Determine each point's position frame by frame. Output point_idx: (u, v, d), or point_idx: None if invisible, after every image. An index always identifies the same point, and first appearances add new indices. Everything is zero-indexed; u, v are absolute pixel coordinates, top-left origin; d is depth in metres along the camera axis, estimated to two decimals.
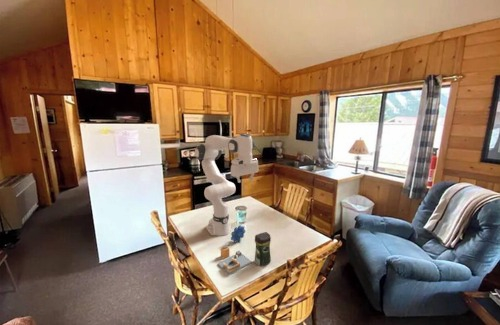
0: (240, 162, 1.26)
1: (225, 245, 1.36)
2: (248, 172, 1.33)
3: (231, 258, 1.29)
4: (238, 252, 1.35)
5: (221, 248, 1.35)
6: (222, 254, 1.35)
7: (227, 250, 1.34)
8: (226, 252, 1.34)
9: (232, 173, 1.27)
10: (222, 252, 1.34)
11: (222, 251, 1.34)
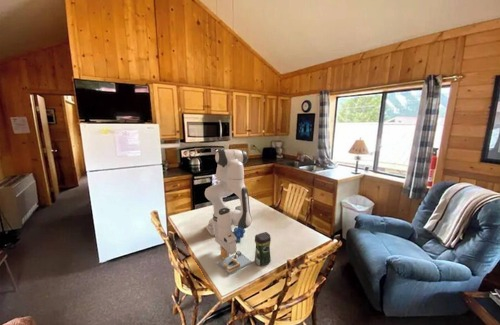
0: None
1: None
2: None
3: (231, 258, 1.29)
4: (238, 252, 1.35)
5: (221, 248, 1.35)
6: (222, 254, 1.35)
7: None
8: (226, 252, 1.34)
9: (234, 251, 1.27)
10: (222, 252, 1.34)
11: (222, 251, 1.34)
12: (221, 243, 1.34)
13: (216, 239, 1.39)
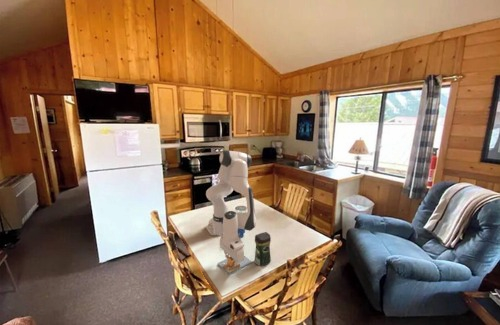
0: None
1: None
2: None
3: None
4: None
5: (228, 258, 1.22)
6: (228, 264, 1.23)
7: None
8: None
9: (241, 259, 1.15)
10: (229, 262, 1.22)
11: (229, 262, 1.22)
12: (227, 250, 1.22)
13: (221, 245, 1.27)
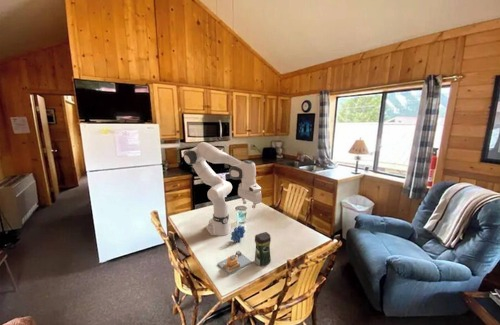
0: None
1: (233, 255, 1.24)
2: None
3: None
4: (238, 252, 1.35)
5: (228, 258, 1.22)
6: (228, 264, 1.23)
7: (235, 261, 1.22)
8: (234, 263, 1.22)
9: (259, 200, 1.30)
10: (229, 262, 1.22)
11: (229, 262, 1.22)
12: (246, 195, 1.36)
13: (239, 193, 1.41)
